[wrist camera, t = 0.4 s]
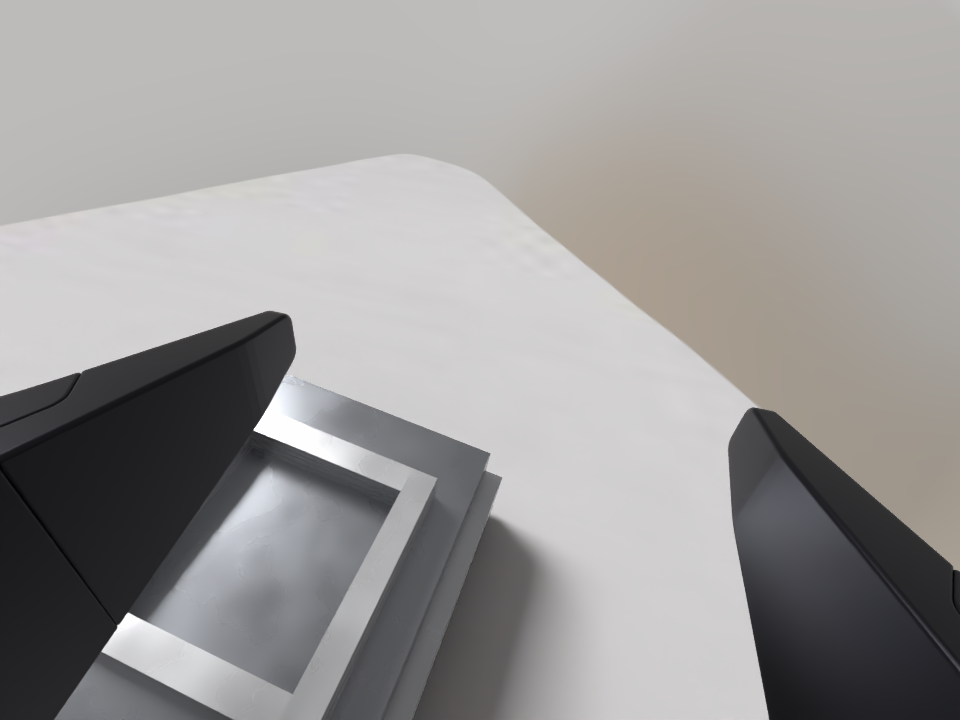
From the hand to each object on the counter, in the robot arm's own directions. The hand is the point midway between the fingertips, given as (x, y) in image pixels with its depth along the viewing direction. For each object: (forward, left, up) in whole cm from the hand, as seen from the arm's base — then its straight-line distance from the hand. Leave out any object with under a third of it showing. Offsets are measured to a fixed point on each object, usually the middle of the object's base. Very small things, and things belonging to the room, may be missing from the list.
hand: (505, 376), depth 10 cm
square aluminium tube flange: (-2, +6, -16) cm, 17 cm away
